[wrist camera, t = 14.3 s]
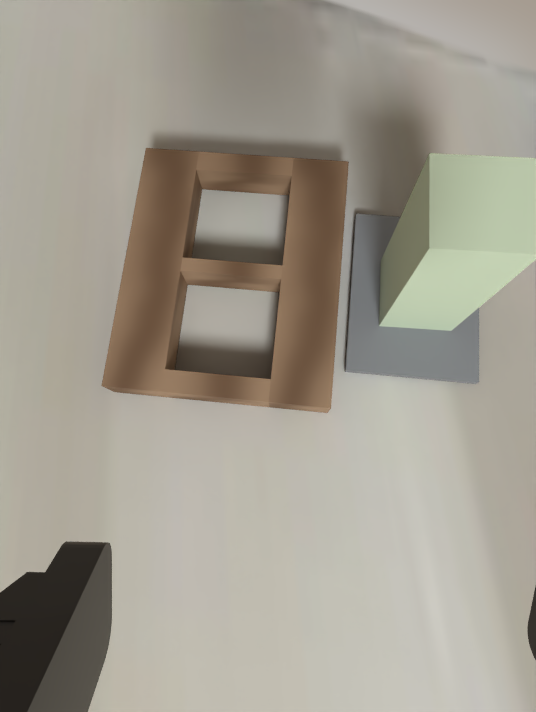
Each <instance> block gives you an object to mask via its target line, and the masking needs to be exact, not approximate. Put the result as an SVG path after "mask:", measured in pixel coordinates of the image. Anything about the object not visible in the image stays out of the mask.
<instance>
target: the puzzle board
mask: <svg viewBox="0 0 536 712" xmlns="http://www.w3.org/2000/svg"><path fill="white" fill-rule="evenodd" d="M348 163H349V162H347V161H332V160H317V159H302V158H287V157H272V156H258V155H243V154H228V153H213V152H198V151H183V150H168V149H153V148H146V151H145V156H144V161H143V167H142V172H141V177H140V183H139V188H138V194H137V199H136V204H135V210H134V215H133V220H132V226H131V231H130V236H129V242H128V247H127V252H126V258H125V263H124V269H123V274H122V279H121V285H120V290H119V295H118V301H117V306H116V311H115V317H114V322H113V327H112V333H111V338H110V344H109V349H108V354H107V360H106V365H105V370H104V376H103V381H102V386H103V387H105V388H107V389H110V390H112V391H114V392H120V393H130V394H141V395H151V396H161V397H171V398H181V399H192V400H202V401H212V402H222V403H232V404H243V405H253V406H263V407H273V408H283V409H294V410H304V411H314V412H324V413H328V411H329V410H330V409H331V399H332V385H333V371H334V357H335V343H336V329H337V316H338V302H339V288H340V274H341V260H342V246H343V232H344V219H345V205H346V191H347V177H348ZM202 189H207V190H221V191H235V192H249V193H263V194H277V195H290V198H289V207H288V217H287V227H286V236H285V246H284V256H283V265H271V264H258V263H246V262H234V261H221V260H209V259H196V258H192V252H193V246H194V239H195V232H196V226H197V219H198V213H199V206H200V199H201V193H202ZM187 285H200V286H212V287H224V288H236V289H247V290H259V291H271V292H280V295H279V304H278V314H277V324H276V333H275V343H274V353H273V363H272V372H271V379H264V378H253V377H243V376H232V375H221V374H211V373H200V372H190V371H179V370H175V364H176V358H177V351H178V345H179V338H180V331H181V325H182V318H183V312H184V305H185V298H186V292H187Z"/></svg>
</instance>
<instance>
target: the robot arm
mask: <svg viewBox="0 0 536 712" xmlns="http://www.w3.org/2000/svg"><path fill="white" fill-rule="evenodd" d="M111 623H112V552H111V546H110V543H103V542H65V543H64V544H63V545H62V546H61V548H60V549H59V551H58V552H57V554H56V556H55V557H54V559H53V561H52V562H51V564H50V565H49V567H48V569H47V570H46V572H27V573H26V574H24V575H23V576H22V577H20V578H19V579H18V580H16V581H15V582H14V583H12V584H11V585H10V586H8V587H7V588H6V589H4V590H3V591H2V592H0V712H88V709H89V706H90V703H91V700H92V697H93V694H94V691H95V688H96V685H97V682H98V679H99V676H100V673H101V670H102V667H103V664H104V661H105V658H106V654H107V650H108V645H109V639H110V633H111ZM528 639H529V644H530V648H531V650H532V653H533V656H534V658H535V660H536V587H535V592H534V597H533V602H532V607H531V611H530V616H529V621H528Z"/></svg>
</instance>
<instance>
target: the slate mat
mask: <svg viewBox="0 0 536 712" xmlns="http://www.w3.org/2000/svg"><path fill="white" fill-rule="evenodd" d="M399 219H400V217H395V216H382V215H368V214H356V216H355V226H354V241H353V256H352V271H351V286H350V301H349V316H348V331H347V346H346V362H345V372H354V373H365V374H375V375H386V376H397V377H408V378H418V379H429V380H440V381H451V382H462V383H472V384H476V383H478V382H479V308H478V309H477V310H475V311H474V312H473V313H472V314H471V315H470V316H468V317H467V318H466V319H465V320H464V321H462V322H461V323H460V324H459V325H458V326H456V327H455V328H454V329H453V330H452V331H446V330H430V329H415V328H400V327H385V326H379V310H380V273H381V259H382V257H383V255H384V252H385V250H386V248H387V246H388V244H389V241H390V239H391V237H392V235H393V233H394V230H395V228H396V226H397V224H398V222H399Z"/></svg>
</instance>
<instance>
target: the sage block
mask: <svg viewBox="0 0 536 712" xmlns="http://www.w3.org/2000/svg"><path fill="white" fill-rule="evenodd" d="M535 260H536V158H520V157H498V156H477V155H456V154H434V153H429V156H428V158H427V160H426V162H425V164H424V167H423V169H422V171H421V173H420V175H419V178H418V180H417V182H416V184H415V186H414V189H413V191H412V193H411V195H410V197H409V200H408V202H407V204H406V206H405V208H404V211H403V213H402V215H401V217H400V219H399V222H398V224H397V226H396V228H395V230H394V233H393V235H392V237H391V239H390V241H389V244H388V246H387V248H386V250H385V252H384V255H383V257H382V259H381V273H380V310H379V326H385V327H400V328H415V329H430V330H446V331H452V330H453V329H454V328H455V327H456V326H458V325H459V324H460V323H461V322H462V321H464V320H465V319H466V318H467V317H468V316H470V315H471V314H472V313H473V312H474V311H475V310H477V309H478V308H479V307H480V306H481V305H483V304H484V303H485V302H486V301H487V300H488V299H490V298H491V297H492V296H493V295H494V294H496V293H497V292H498V291H499V290H500V289H501V288H503V287H504V286H505V285H506V284H507V283H509V282H510V281H511V280H512V279H513V278H514V277H516V276H517V275H518V274H519V273H520V272H522V271H523V270H524V269H525V268H526V267H527V266H529V265H530V264H531V263H532V262H533V261H535Z"/></svg>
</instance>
